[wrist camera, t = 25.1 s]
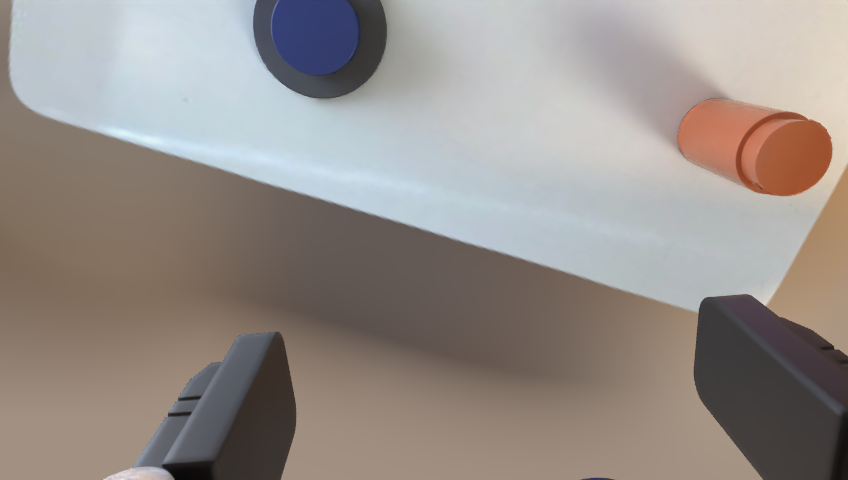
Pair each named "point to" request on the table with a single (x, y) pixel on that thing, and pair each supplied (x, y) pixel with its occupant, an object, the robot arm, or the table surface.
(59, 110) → the table surface
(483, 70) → the table surface
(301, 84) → the coaster
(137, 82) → the table surface
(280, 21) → the lid
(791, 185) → the jar
